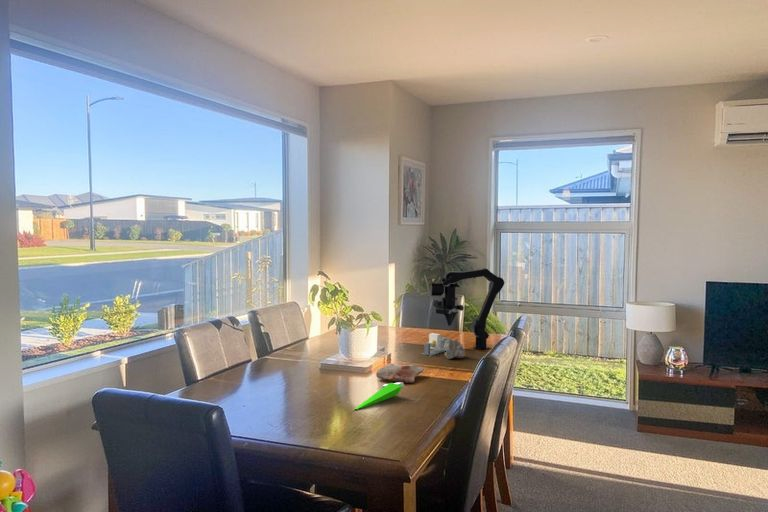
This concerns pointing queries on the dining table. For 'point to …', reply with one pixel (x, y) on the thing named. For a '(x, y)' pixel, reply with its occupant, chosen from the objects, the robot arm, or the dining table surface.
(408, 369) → the stone
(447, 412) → the dining table surface
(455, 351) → the rock
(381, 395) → the green wedge
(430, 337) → the sleeve
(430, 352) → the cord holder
